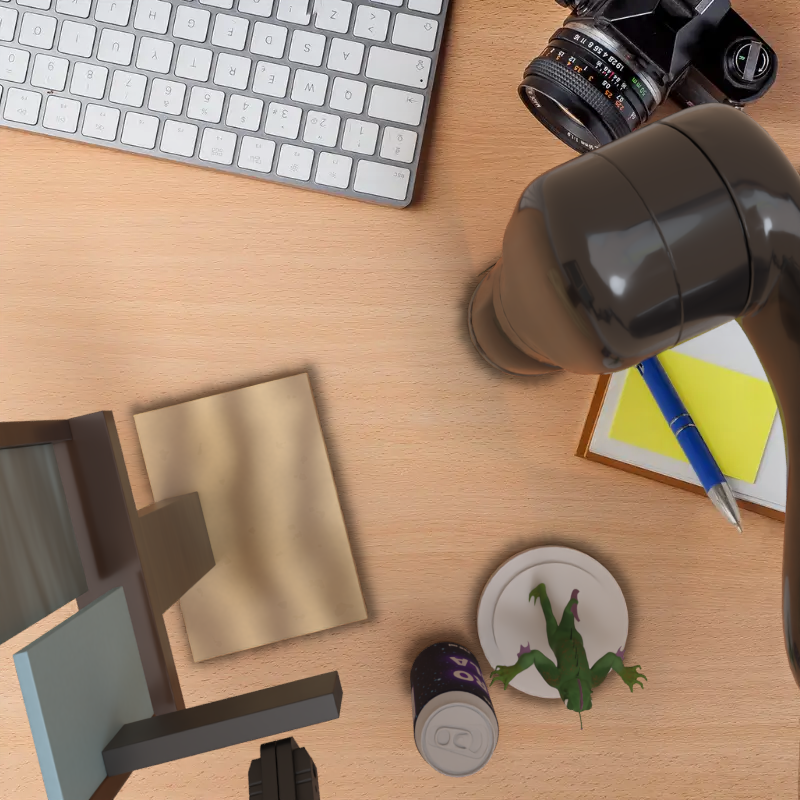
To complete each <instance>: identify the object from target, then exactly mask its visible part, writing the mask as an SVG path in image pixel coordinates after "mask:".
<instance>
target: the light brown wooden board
mask: <svg viewBox="0 0 800 800" xmlns="http://www.w3.org/2000/svg"><path fill="white" fill-rule="evenodd" d="M133 420H134V425H135V429H136V432H137V433H136V434H137V436H138V441H139V444H140V448H141V449H140V450H141V452H142V457H143V461H144V465H145V470H146V473H147V477H148V481H149V485H150V490H151V493H152V497H153V501H154V502H153V503H156V502H158V501H160V500H164V499H168V498H172V497H176V496H180V495H184V494H188V493H192V492H196V491H197V492H198V495H199V499H200V503H201V507H202V511H203V515H204V519H205V523H206V527H207V531H208V535H209V539H210V544H211V548H212V552H213V556H214V560H215V564H216V565H215V566H214V567H213V568H212V569H211V570H210V571H209V572H208V573H207V574H206V575H205V576H204V577H202V578H201V579H200V580H199V581H198V582H197V583H196V584H195V585H194V586H193V587H192V588H191V589H190V590H188V591H187V592H186V593H185V594H184V595H183V596H182V597H181V598H180V599H179V600H178V602H179V606H180V611H181V614H182V619H183V622H184V626H185V630H186V631H185V632H186V635H187V638H188V642H189V647H190V651H191V655H192V660H193V663H200V662H203V661H206V660H207V661H208V660H210V659H214V658H218V657H222V656H226V655H230V654H234V653H239V652H243V651H247V650H250V649H254V648H258V647H262V646H266V645H269V644H270V645H271V644H273V643H278V642H282V641H286V640H290V639H294V638H297V637H303V636H306V635H309V634H313V633H317V632H322V631H325V630H326V631H327V630H330V629H333V628H338V627H342V626H345V625H348V624H352V623H353V624H354V623H358V622H360V621H365V620H367V619H368V618H369V613H368V609H367V604H366V601H365V597H364V593H363V589H362V585H361V581H360V576H359V573H358V569H357V568H358V567H357V564H356V561H355V556H354V553H353V548H352V545H351V540H350V537H349V533H348V529H347V524H346V521H345V516H344V512H343V508H342V505H341V500H340V496H339V492H338V488H337V485H336V480H335V475H334V471H333V468H332V464H331V460H330V456H329V452H328V448H327V443H326V440H325V436H324V432H323V428H322V424H321V419H320V416H319V412H318V408H317V403H316V400H315V394H314V391H313V387H312V384H311V379H310V375H309V373H308V372H306V371H305V372H301V373H298V374H294V375H289V376H286V377H285V376H284V377H281V378H277V379H273V380H269V381H265V382H261V383H257V384H253V385H248V386H245V387H241V388H237V389H233V390H228V391H224V392H221V393H216V394H213V395H208V396H205V397H201V398H200V397H199V398H196V399H192V400H187V401H183V402H180V403H176V404H171V405H167V406H164V407H161V408H160V407H159V408H157V409H152V410H148V411H144V412H140V413H136V414H133Z"/></svg>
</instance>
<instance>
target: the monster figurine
mask: <svg viewBox="0 0 800 800" xmlns="http://www.w3.org/2000/svg"><path fill="white" fill-rule="evenodd" d="M628 611H629V610H628V607H627V603H626V599H625V596H624V594H623V591H622V589H621V587H620V585H619V584H618V582H617V580H616V578H614V576H613V575H612V573H611V572H610V571H609V570H608V569H607V568H606V567H605V566H604V565H603V564H601V563H600V562H599V561H598V560H597V559H596V558H593V557H592V556H590V555H589V554H587V553H585V552H583V551H581V550H578V549H576V548H573V547H568V546H566V545H554V544H547V545H546V544H545V545H537V546H534V547H530V548H527V549H524V550H521V551H519V552H517V553H516V554H514V555H512V556H510V557H508V558H507V559H506V560H505V561H504V562H502V563H501V564H500V565H499V566H498V567H497V568H495V570H494V571H493V572H492V574H491V575H490V577H489V578H488V580H487V581H486V583H485V585H484V587H483V589H482V592H481V594H480V596H479V601H478V605H477V610H476V631H477V635H478V640H479V644H480V646H481V648H482V651H483V654H484V656H485V658H486V660H487V662H488V663H489V665H490V666H491V668H492V671H490V674H489V679H491V678H492V679H491V681H490V683H489V685H488V687H492V686H493V684H494V683H495V682H497V681H500V682H501V683H502V684H503V691H506V690H507V688H508V686H509V685H510V686H512V688H514V689H516V690H517V691H520V692H521V693H525V694H526V695H529V696H533V697H538V698H543V699H561V701H562V702H563V704H564V706H565V708H566V709H567V710H569V711H573V712H575V713H578V715H579V721H580V730H581V731H582V730H584V728H583V721H582V715H581V713H582V712H584V711H589V710H592V708H593V698H592V694H593V693H594V690H592V689H595V688H598V687H599V686H600V685H602V684H603V683H604V681H605V680H606V679H607V677H608V675H609V674H610V673H611V672H612V671H614V672H615V673H616V674H617V675H618V676H619V677H620V679H621V680H622V681H623V683H624V684H625V685H627V686H628V688H629V691H630V693H634V685H636V684H637V685H639V686H640V688H641V689H642V690H644V689H645V687H644V683H643V682H642V681H641V680H638V678H642V679H644V680H645V681H646V682H648V677H647V675H645V674H644V673H639V672H638V670H637V669H639V670H642V665H641V664H636V665H632V666H631V665H630V666H625V665H624V659H625V658H626V657H625V656H624V655H625V652H626V649H625V647H626V642H627V639H628V633H629V632H628V631H629V612H628ZM493 675H498V676H494V677H493Z"/></svg>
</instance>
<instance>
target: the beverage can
mask: <svg viewBox="0 0 800 800" xmlns="http://www.w3.org/2000/svg"><path fill="white" fill-rule="evenodd" d="M409 685H410V697H411V698H410V700H411V714H412V716H411V717H412V731H413V741H414V744H415V748H416V749H417V751H418V753H419V756H421V758H422V759H423V760H424V761H425V763H427V764H428V765H429V766H430V767H431V768H432V769H434V771H436V772H437V773H439V774H441V775H444V776H445V777H450V778H465V777H470V776H472V775H475V774H476V773H478V772H480V771H481V770H482V769H484V768H485V766H487V764H489V762H490V761H491V759H492V757H493V754H494V752H495V750H496V748H497V745H498V742H499V736H500V725H499V720H498V717H497V714H496V710H495V708H494V705H493V702H492V698H491V695H490V692H489V690H488V686H487V683H486V681H485V677H484V674H483V671H482V668H481V665H480V663H479V661H478V659H477V657H476V656H475V654H474V653H473V652H472V651H471V650H470V649H469V648H467V647H466V646H465V645H462V644H460V643H457V642H453V641H439V642H435V643H433V644H430V645H428V646H426V647H425V648H424V649H422V650H421V652H419V653H418V654H417V655H416V657H415V659H414V660H413V662H412V664H411V668H410V672H409Z"/></svg>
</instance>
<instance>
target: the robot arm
mask: <svg viewBox="0 0 800 800" xmlns="http://www.w3.org/2000/svg"><path fill="white" fill-rule="evenodd" d="M501 246H502V247H501V248H502V249H501V256H500V258H499V259H498V260H497V261H496V262H494V263H493V264H492V265H491V266H489V267H488V268H486V269H485V270H483V271H482V272H481V273H479V274H478V275H477V278H479V277H481V276H482V275H483V274H485V273H486V272H487V271H488V273H487V274H486V275H484V276H483V278H482V279H481V280H480V281H479V283H478V285H477V286H476V287H475V288H474V291H473V292H472V294H471V297H470V300H469V303H468V308H467V316H466V317H467V318H466V319H467V320H466V322H467V331H468V334H469V339H470V340H471V342H472V345H473V346H474V348H475V350H476V352H477V353H478V354H479V356H480V357H481V358H482V360H484V361H485V362H486V363H487V364H488V365H489V366H491V367H492V368H493V369H495V370H497V371H499V372H500V373H503V374H506V375H508V376H513V377H519V378H534V377H539V376H544V375H547V374H549V373H553V372H558V371H564V370H565V371H567V372H570V373H572V374H576V375H583V376H590V375H591V376H594V375H597V376H598V375H602V376H603V375H610V374H615V373H620V372H623V371H625V370H627V369H630V368H633V367H636V366H637V365H640V364H642V363H644V362H646V361H648V360H650V359H652V358H654V357H656V356H658V355H661V354H663V353H665V352H666V351H668V350H672V349H675V348H676V347H679V346H681V345H683V344H685V343H687V342H690V341H692V340H693V339H696V338H698V337H701V336H702V335H704V334H707V333H708V332H711V331H713V330H716V329H717V328H719V327H722V326H725V325H726V324H728V323H730V322H732V321H735V322H736V323H737V324H738V326H739V328H740V329H741V330H742V332H743V333H744V335H745V337H746V339H747V340H748V342H749V344H750V345H751V347H752V350H753V351H754V353H755V355H756V357H757V359H758V361H759V363H760V365H761V368H762V370H763V372H764V374H765V377H766V379H767V382H768V384H769V386H770V390H771V392H772V395H773V398H774V401H775V404H776V407H777V411H778V415H779V420H780V423H781V428H782V436H783V444H784V454H785V466H786V467H785V468H786V469H785V471H786V472H785V473H786V475H785V479H786V480H785V484H786V486H785V487H786V489H785V510H784V511H785V512H784V528H783V543H782V545H783V546H782V561H781V562H782V564H781V622H782V634H783V643H784V648H785V653H786V658H787V661H788V666H789V670H790V671H791V674H792V677H793V680H794V683H795V684H796V686H797V688H798V689H799V691H800V174H799V172H798V171H797V169H796V167H795V166H794V165H793V163H792V161H791V160H790V158H788V156H787V154H786V153H785V152H784V150H782V147H781V146H780V145H779V144H778V142H777V141H776V140H775V139H774V138H773V137H772V135H771V134H770V133H769V132H768V130H766V129H765V128H764V127H763V126H762V125H761V124H760V123H758V122H757V121H756V120H755V119H754V118H752V117H751V116H750V115H749V114H747V113H746V112H745V111H743V110H741V109H740V108H738V107H735V106H734V105H730V104H727V103H723V102H717V101H715V102H714V101H708V102H704V103H700V104H695V105H692V106H689V107H686V108H682V109H680V110H678V111H676V112H674V113H671V114H669V115H667V116H665V117H662V118H660V119H657V120H655V121H653V122H650V123H648V124H646V125H643V126H642V127H640V128H637V129H634V130H633V131H630V132H628V133H626V134H624V135H622V136H620V137H618V138H615V139H613V140H611V141H608V142H607V143H604V144H602V145H600V146H597V147H595V148H593V149H592V150H588V151H587V152H585V153H582V154H580V155H577V156H575V157H573V158H571V159H569V160H567V161H564V162H563V163H560V164H558V165H556V166H554V167H551V168H549V169H547V170H546V171H543V172H542V173H541V174H539V175H538V176H536V177H535V178H534V179H532V180H531V181H530V182H529V183H528V184H527V185H526V187H524V188H523V190H522V192H521V193H520V196H519V197H518V199H517V200H516V203H515V205H514V208H513V210H512V213H511V215H510V217H509V219H508V221H507V224H506V227H505V229H504V234H503V239H502V245H501ZM249 764H250V765H249V768H248V771H247V780H248V781H247V785H248V800H321V794H320V783H319V774H318V773H319V772H318V767H317V765H316V763H315V761H314V759H313V758H312V756H311V755H310V753H309V751H308V750H307V748H306V747H305V746H302V747H300V746H299V744H298V743H297V740H296V739H295V738H294V736H293V735H292V736H287V737H284V738H280V739H277V740H272V741H271V740H270V741H268V742H263V743H260V746H259V757H258V758H253V759H251V761H250V763H249Z"/></svg>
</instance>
